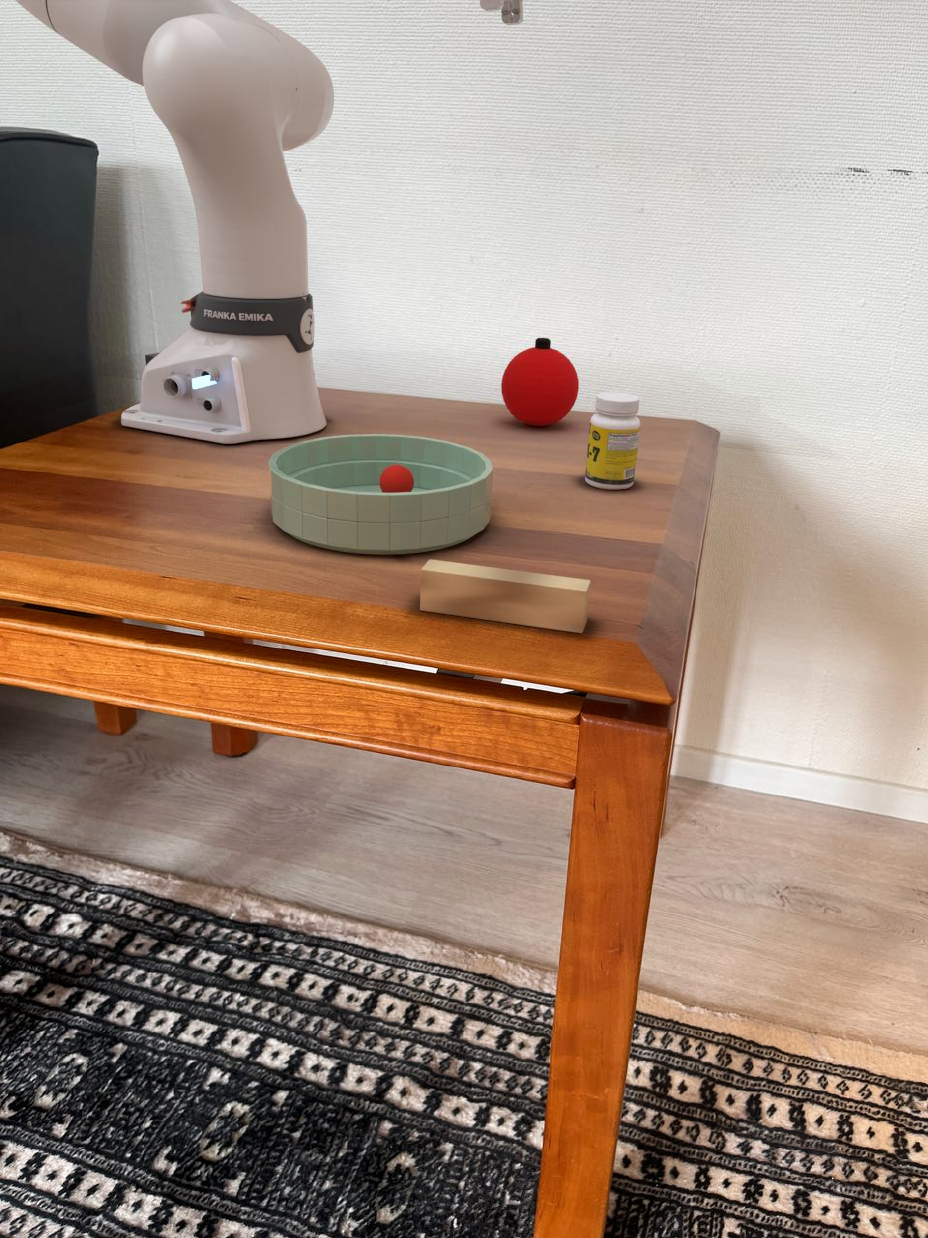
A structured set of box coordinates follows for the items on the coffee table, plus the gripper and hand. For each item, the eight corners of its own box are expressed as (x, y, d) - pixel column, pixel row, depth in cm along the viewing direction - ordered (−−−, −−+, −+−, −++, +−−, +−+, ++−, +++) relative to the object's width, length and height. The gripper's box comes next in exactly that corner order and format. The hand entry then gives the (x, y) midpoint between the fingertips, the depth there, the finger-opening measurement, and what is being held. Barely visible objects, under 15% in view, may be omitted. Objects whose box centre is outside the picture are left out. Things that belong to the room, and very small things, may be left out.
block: (419, 610, 66) (420, 569, 65) (428, 599, 68) (429, 558, 67) (582, 633, 64) (586, 591, 63) (586, 621, 66) (590, 579, 64)
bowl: (232, 540, 77) (229, 478, 75) (321, 478, 93) (320, 426, 91) (458, 570, 73) (460, 506, 71) (509, 500, 89) (513, 446, 87)
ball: (374, 501, 85) (374, 468, 84) (385, 492, 88) (385, 459, 87) (407, 505, 85) (408, 471, 83) (417, 495, 87) (418, 462, 86)
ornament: (583, 434, 113) (591, 345, 109) (506, 434, 112) (511, 343, 107) (565, 416, 121) (572, 332, 117) (493, 416, 120) (497, 331, 115)
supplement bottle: (580, 475, 97) (587, 390, 94) (626, 476, 98) (636, 391, 94) (589, 490, 93) (598, 401, 89) (638, 491, 93) (649, 402, 90)
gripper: (482, -136, 92) (491, 34, 98) (425, -209, 74) (440, 5, 80) (549, -146, 91) (554, 27, 96) (508, -224, 73) (517, -5, 78)
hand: (502, 17), depth 88 cm, fingers open, 8 cm apart
